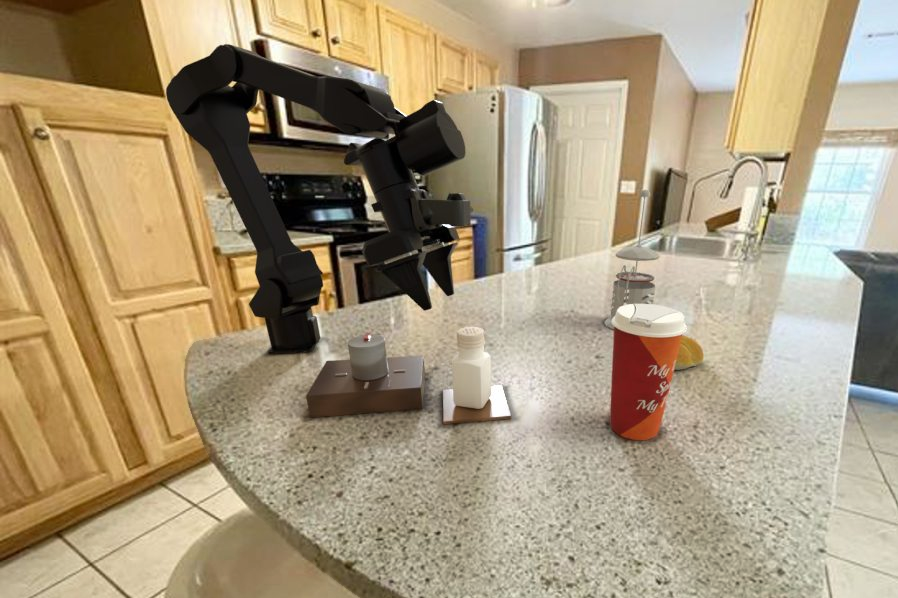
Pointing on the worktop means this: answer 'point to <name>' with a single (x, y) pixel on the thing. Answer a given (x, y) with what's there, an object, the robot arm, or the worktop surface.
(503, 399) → the coaster
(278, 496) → the worktop surface
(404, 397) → the panel
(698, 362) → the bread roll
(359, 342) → the knob
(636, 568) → the worktop surface
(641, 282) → the french press
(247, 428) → the worktop surface
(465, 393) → the pepper shaker
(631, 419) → the paper cup
